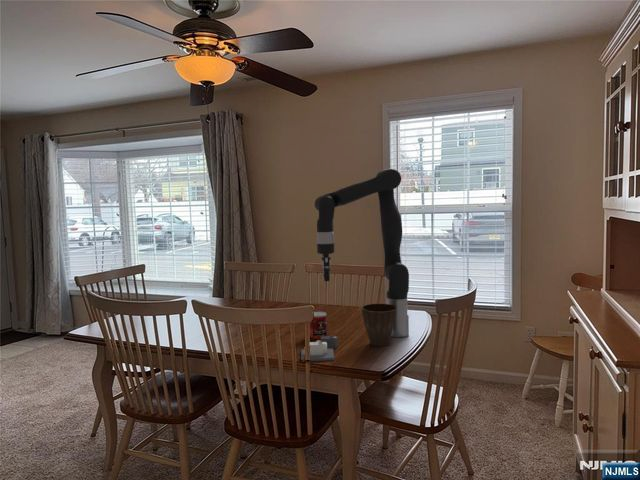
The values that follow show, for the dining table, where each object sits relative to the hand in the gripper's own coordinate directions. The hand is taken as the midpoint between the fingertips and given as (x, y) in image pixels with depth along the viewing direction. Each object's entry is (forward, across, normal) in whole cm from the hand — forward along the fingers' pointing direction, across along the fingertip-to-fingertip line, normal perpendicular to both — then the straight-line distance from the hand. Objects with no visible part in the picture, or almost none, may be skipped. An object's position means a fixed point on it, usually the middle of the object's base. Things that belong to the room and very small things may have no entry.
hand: (326, 279), depth 195 cm
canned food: (+28, +8, +4) cm, 30 cm away
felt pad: (+28, -16, +5) cm, 33 cm away
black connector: (+28, -6, +1) cm, 29 cm away
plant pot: (+28, -4, -22) cm, 36 cm away
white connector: (+27, -17, +6) cm, 32 cm away
